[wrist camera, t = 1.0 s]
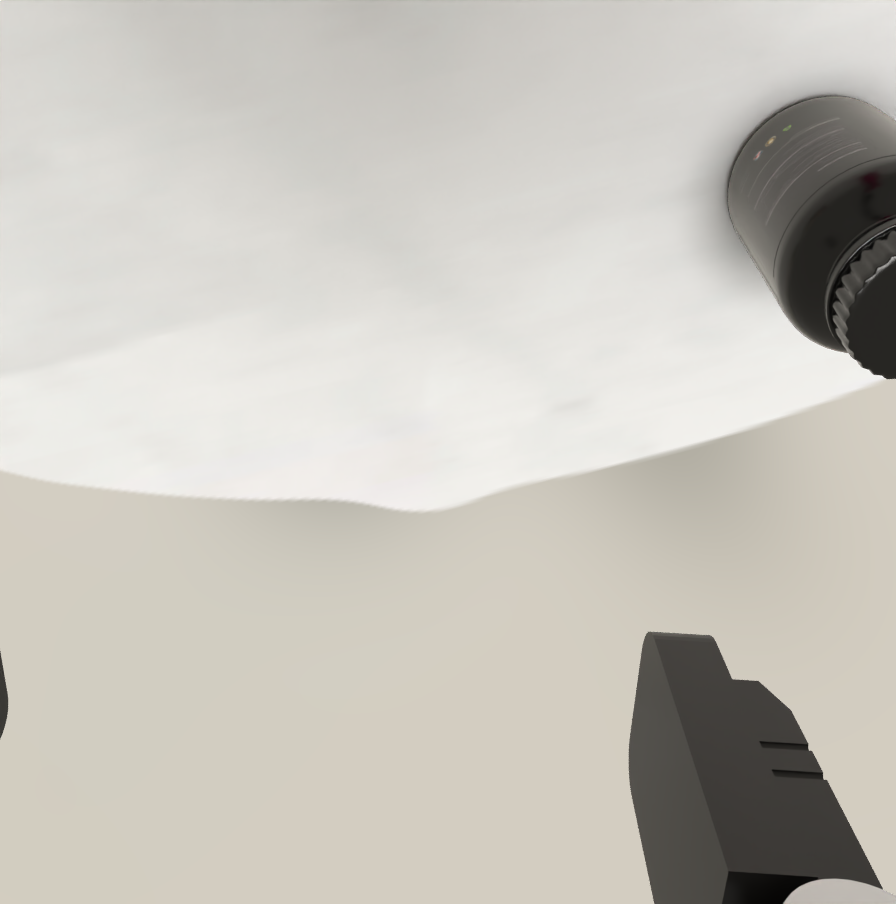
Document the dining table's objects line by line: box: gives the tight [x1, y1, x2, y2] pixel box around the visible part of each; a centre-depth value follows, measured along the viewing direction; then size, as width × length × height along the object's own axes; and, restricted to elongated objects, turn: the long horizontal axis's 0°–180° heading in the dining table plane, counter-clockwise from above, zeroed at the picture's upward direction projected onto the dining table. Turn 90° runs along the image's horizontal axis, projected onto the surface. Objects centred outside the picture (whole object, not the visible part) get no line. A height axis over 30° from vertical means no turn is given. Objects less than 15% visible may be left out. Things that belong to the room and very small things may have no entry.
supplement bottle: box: [728, 96, 896, 379], centre depth 30 cm, size 7×7×12 cm
